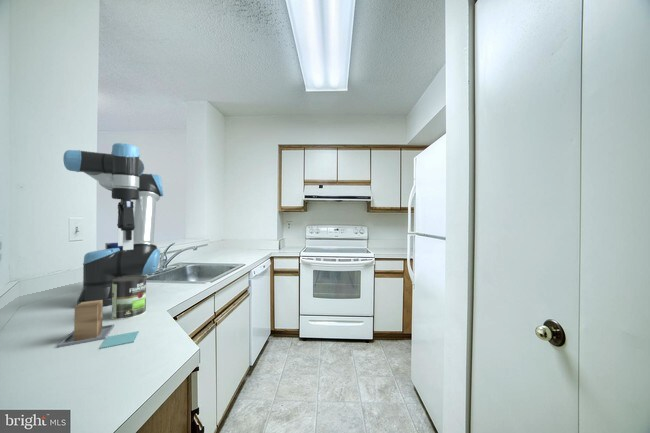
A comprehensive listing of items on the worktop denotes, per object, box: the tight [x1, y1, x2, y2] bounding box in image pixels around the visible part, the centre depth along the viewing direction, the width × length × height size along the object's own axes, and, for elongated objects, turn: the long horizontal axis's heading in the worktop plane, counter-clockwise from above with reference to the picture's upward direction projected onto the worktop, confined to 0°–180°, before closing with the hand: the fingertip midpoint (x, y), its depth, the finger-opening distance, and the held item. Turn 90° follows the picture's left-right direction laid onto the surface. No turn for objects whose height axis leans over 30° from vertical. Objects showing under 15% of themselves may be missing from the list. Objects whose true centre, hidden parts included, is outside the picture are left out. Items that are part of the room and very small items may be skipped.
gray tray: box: [57, 323, 115, 349], centre depth 74 cm, size 10×10×1 cm
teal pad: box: [99, 330, 140, 350], centre depth 72 cm, size 8×8×1 cm
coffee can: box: [111, 275, 147, 321], centre depth 92 cm, size 10×10×14 cm
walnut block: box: [73, 300, 104, 341], centre depth 74 cm, size 5×5×10 cm
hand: (125, 247), depth 86 cm, fingers open, 13 cm apart
